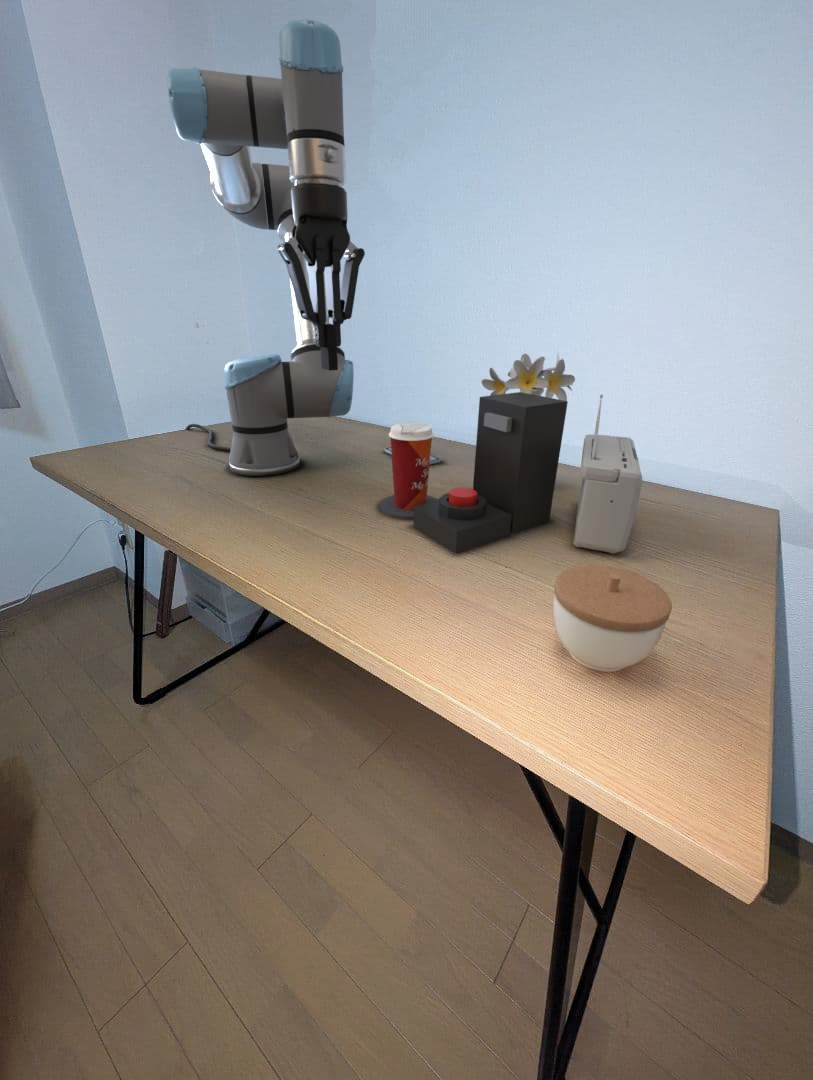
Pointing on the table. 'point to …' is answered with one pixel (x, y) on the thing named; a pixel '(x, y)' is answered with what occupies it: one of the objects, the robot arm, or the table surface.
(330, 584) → the table surface
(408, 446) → the paper cup
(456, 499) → the coffee button
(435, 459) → the smartphone
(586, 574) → the trinket box
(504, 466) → the tank
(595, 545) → the radio
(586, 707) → the table surface
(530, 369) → the flower vase
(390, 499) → the coaster
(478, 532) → the base
